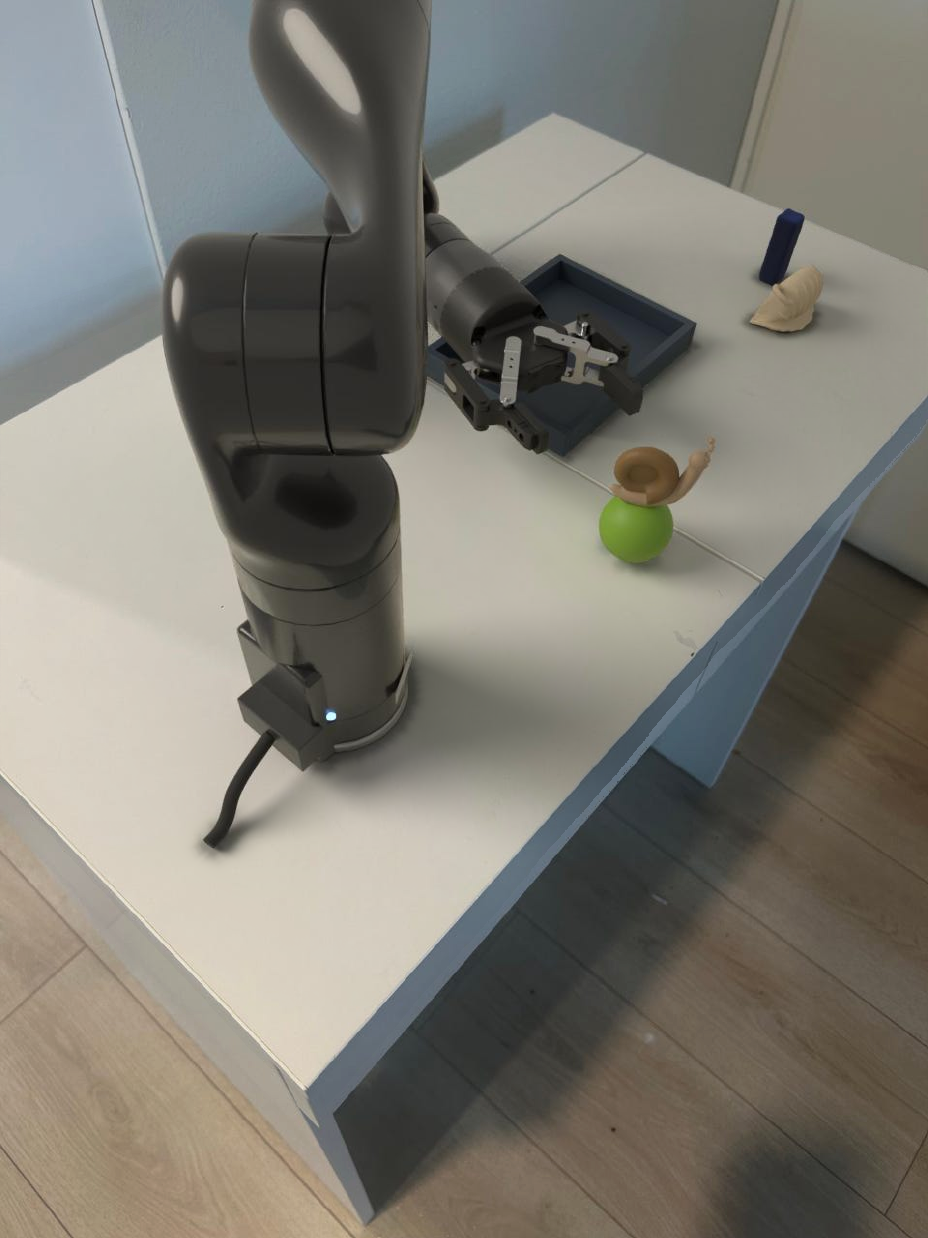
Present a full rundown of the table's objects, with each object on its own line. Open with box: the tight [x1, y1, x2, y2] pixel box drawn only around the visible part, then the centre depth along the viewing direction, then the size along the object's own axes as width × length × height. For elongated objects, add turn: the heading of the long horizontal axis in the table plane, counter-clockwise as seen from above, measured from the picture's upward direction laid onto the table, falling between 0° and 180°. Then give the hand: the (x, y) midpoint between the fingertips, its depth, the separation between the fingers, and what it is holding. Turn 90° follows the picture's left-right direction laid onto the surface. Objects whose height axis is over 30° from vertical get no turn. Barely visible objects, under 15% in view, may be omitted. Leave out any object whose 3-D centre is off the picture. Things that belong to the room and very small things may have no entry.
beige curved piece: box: [748, 264, 824, 333], centre depth 87 cm, size 4×8×5 cm, turn 132°
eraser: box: [758, 207, 806, 287], centre depth 91 cm, size 2×2×7 cm
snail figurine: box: [598, 436, 716, 564], centre depth 67 cm, size 5×6×12 cm
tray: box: [427, 253, 698, 458], centre depth 84 cm, size 20×16×2 cm
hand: (592, 424), depth 70 cm, fingers open, 8 cm apart
